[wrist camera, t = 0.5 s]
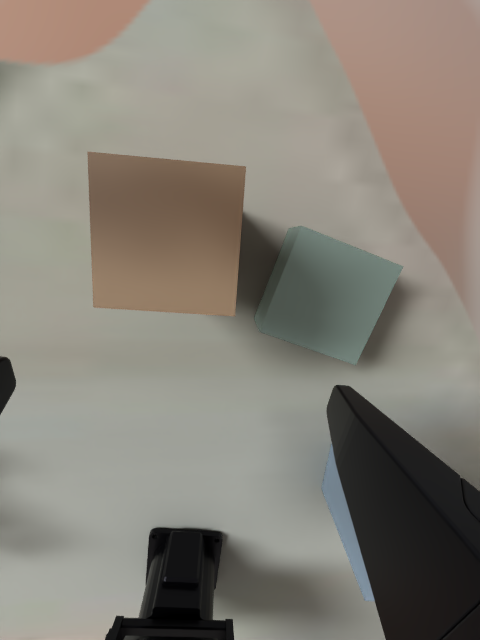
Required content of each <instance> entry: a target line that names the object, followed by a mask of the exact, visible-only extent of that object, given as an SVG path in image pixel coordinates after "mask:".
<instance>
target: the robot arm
mask: <svg viewBox="0 0 480 640" xmlns="http://www.w3.org/2000/svg"><path fill="white" fill-rule="evenodd" d="M15 387H16V379H15V376H14V372H13V368H12V365H11V362H10V360H9V359H8V358H7V357H1V356H0V415H1V413H2V411H3V409H4V407H5V406H6V404H7V402H8V400H9V399H10V397H11V395H12V393H13V392H14V390H15ZM327 418H328V424H329V430H330V435H331V441H332V447H333V453H334V458H335V463H336V467H337V471H338V475H339V478H340V482H341V485H342V489H343V492H344V495H345V499H346V502H347V506H348V509H349V513H350V516H351V520H352V523H353V527H354V530H355V534H356V537H357V541H358V544H359V548H360V551H361V555H362V558H363V562H364V565H365V569H366V572H367V575H368V579H369V582H370V586H371V589H372V593H373V596H374V600H375V603H376V607H377V610H378V614H379V617H380V621H381V624H382V628H383V631H384V635H385V638H386V640H480V491H478V490H477V489H476V488H475V487H473V486H472V485H471V484H470V483H468V482H467V481H466V480H465V479H463V478H460V475H459V474H457V473H456V472H455V471H454V470H452V469H451V468H450V467H449V466H447V465H446V464H445V463H444V462H443V461H441V460H440V459H439V458H438V457H436V456H435V455H434V454H433V453H431V452H430V451H429V450H428V449H427V448H425V447H424V446H423V445H422V444H420V443H419V442H418V441H417V440H415V439H414V438H413V437H412V436H410V435H409V434H408V433H407V432H406V431H404V430H403V429H402V428H401V427H399V426H398V425H397V424H396V423H394V422H393V421H392V420H391V419H390V418H388V417H387V416H386V415H385V414H383V413H382V412H381V411H380V410H378V409H377V408H376V407H375V406H374V405H372V404H371V403H370V402H369V401H367V400H366V399H365V398H364V397H362V396H361V395H360V394H359V393H358V392H356V391H355V390H354V389H353V388H351V387H350V386H345V385H336V386H334V388H333V390H332V393H331V396H330V399H329V402H328V405H327ZM216 538H218V539H216ZM221 547H222V534H221V533H219V532H208V531H192V530H175V529H159V528H154V529H152V530H151V532H150V535H149V545H148V559H147V573H146V588H145V592H144V597H143V601H142V605H141V610H140V614H139V618H124V616H116V618H115V621H114V624H113V626H112V628H110V630H109V632H108V634H107V635H106V638H105V640H234V632H233V619H225V620H213V598H214V589H215V588H216V582H217V575H218V568H219V561H220V554H221Z"/></svg>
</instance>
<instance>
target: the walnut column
mask: <svg viewBox="0 0 480 640" xmlns="http://www.w3.org/2000/svg"><path fill="white" fill-rule="evenodd" d="M245 173H246V167H245V166H234V165H224V164H213V163H202V162H192V161H181V160H170V159H160V158H149V157H138V156H128V155H117V154H106V153H96V152H88V175H89V201H90V228H91V255H92V281H93V307H96V308H111V309H127V310H143V311H159V312H175V313H190V314H206V315H222V316H235V308H236V295H237V281H238V268H239V254H240V241H241V227H242V214H243V200H244V187H245Z"/></svg>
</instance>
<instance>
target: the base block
mask: <svg viewBox="0 0 480 640" xmlns="http://www.w3.org/2000/svg"><path fill="white" fill-rule="evenodd" d="M402 268H403V266H401V265H398V264H396V263H393V262H391V261H388V260H386V259H383V258H381V257H378V256H376V255H373V254H371V253H368V252H366V251H363V250H361V249H358V248H356V247H353V246H351V245H348V244H346V243H343V242H341V241H338V240H336V239H333V238H331V237H328V236H326V235H323V234H321V233H318V232H316V231H313V230H311V229H308V228H306V227H303V226H298V227H293V228H289V230H288V232H287V235H286V237H285V240H284V242H283V245H282V248H281V250H280V253H279V255H278V258H277V260H276V263H275V266H274V268H273V271H272V273H271V276H270V278H269V281H268V283H267V286H266V289H265V291H264V294H263V296H262V299H261V301H260V304H259V306H258V309H257V312H256V314H255V317H254V319H255V322H256V325H257V327H258V330H259V332H261V333H264V334H267V335H270V336H273V337H276V338H279V339H282V340H284V341H287V342H290V343H293V344H296V345H299V346H302V347H305V348H308V349H310V350H313V351H316V352H319V353H322V354H325V355H328V356H331V357H333V358H336V359H339V360H342V361H345V362H348V363H351V364H354V365H356V363H357V361H358V359H359V357H360V355H361V353H362V351H363V349H364V347H365V345H366V343H367V341H368V339H369V337H370V335H371V332H372V330H373V328H374V326H375V324H376V322H377V320H378V318H379V316H380V314H381V312H382V310H383V308H384V306H385V303H386V301H387V299H388V297H389V295H390V293H391V291H392V289H393V287H394V285H395V283H396V281H397V279H398V277H399V275H400V272H401V270H402Z"/></svg>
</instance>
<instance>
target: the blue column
mask: <svg viewBox="0 0 480 640" xmlns="http://www.w3.org/2000/svg"><path fill="white" fill-rule="evenodd" d="M321 489H322V491H323V494H324V497H325V499H326V502H327V504H328V507H329V509H330V512H331V515H332V517H333V520H334V522H335V525H336V527H337V530H338V533H339V535H340V538H341V540H342V543H343V546H344V548H345V551H346V553H347V556H348V558H349V561H350V564H351V566H352V569H353V571H354V574H355V576H356V579H357V582H358V584H359V587H360V589H361V592H362V594H363V597H364V600H365V601H375V600H374V596H373V593H372V589H371V586H370V582H369V579H368V575H367V572H366V569H365V565H364V562H363V558H362V555H361V551H360V548H359V544H358V541H357V537H356V534H355V530H354V527H353V523H352V520H351V516H350V513H349V509H348V506H347V502H346V499H345V495H344V492H343V489H342V485H341V482H340V478H339V475H338V471H337V467H336V463H335V458H334V453H333V447H332V444H331V448H330V453H329V457H328V462H327V466H326V470H325V475H324V479H323V484H322V488H321Z"/></svg>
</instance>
